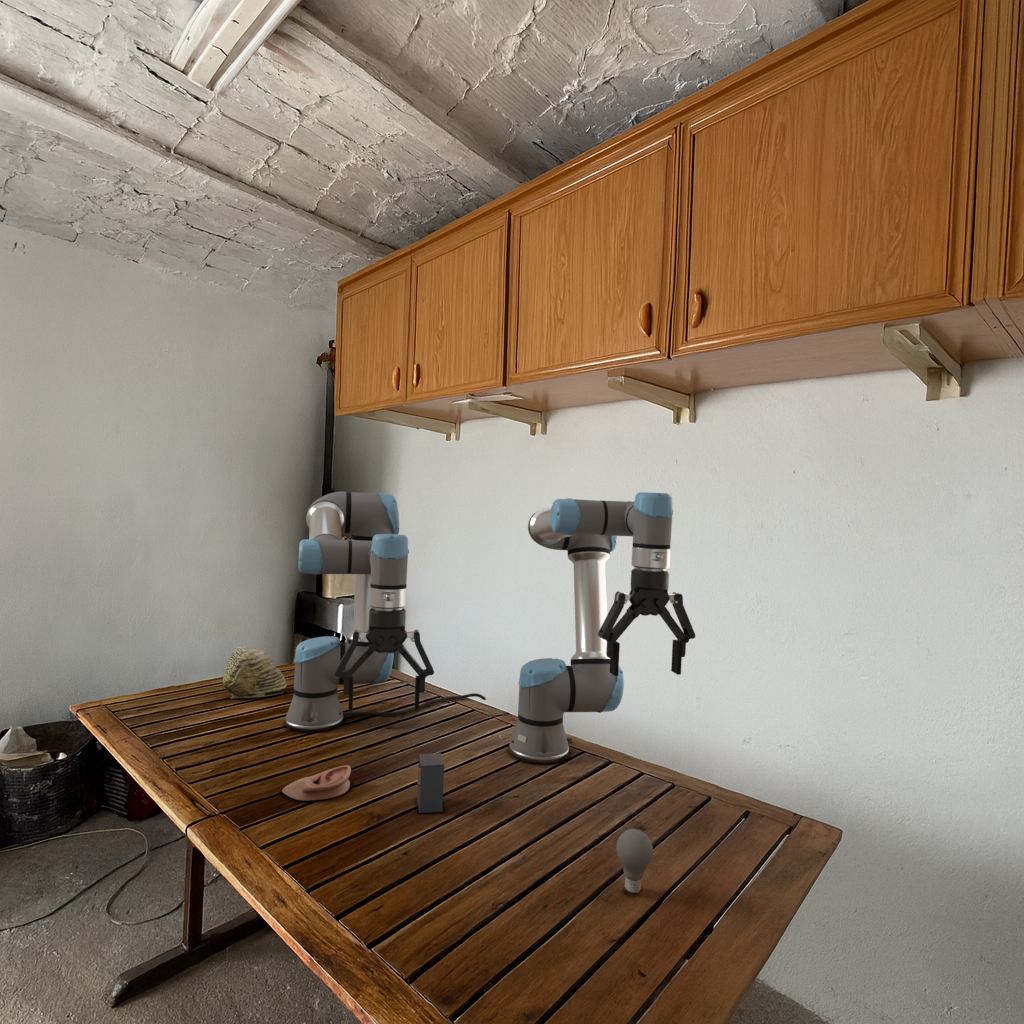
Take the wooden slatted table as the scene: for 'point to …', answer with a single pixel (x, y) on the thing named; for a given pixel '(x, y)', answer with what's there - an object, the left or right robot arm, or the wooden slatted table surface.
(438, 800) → the brick
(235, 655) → the fossil
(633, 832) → the light bulb
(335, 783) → the anatomical model
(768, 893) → the wooden slatted table surface
